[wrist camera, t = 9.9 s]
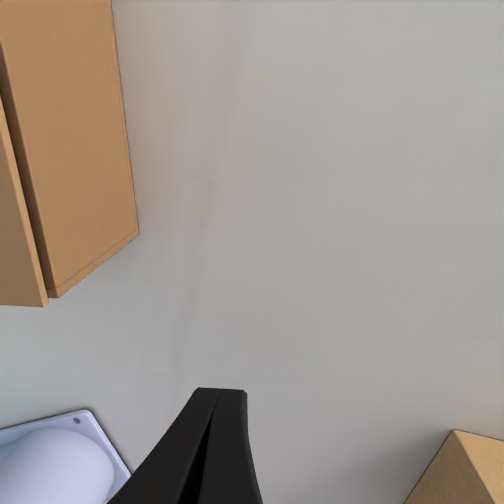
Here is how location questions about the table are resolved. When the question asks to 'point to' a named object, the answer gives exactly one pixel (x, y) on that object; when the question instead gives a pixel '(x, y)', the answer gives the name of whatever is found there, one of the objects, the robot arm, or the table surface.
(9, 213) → the flap
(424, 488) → the sandwich container
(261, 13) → the table surface
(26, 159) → the carton
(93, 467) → the robot arm
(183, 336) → the table surface
